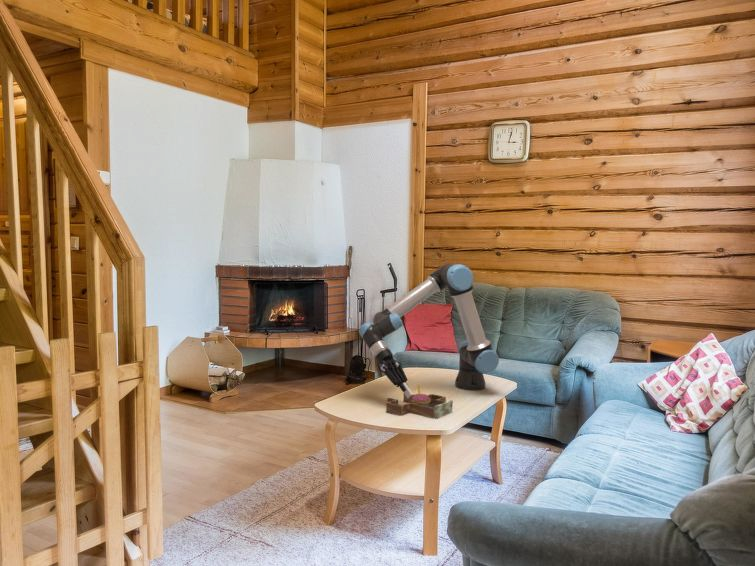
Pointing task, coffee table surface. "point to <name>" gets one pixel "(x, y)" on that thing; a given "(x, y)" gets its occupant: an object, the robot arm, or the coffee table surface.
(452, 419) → the coffee table surface
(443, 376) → the coffee table surface
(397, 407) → the trap lane
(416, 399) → the cupcake
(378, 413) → the coffee table surface
